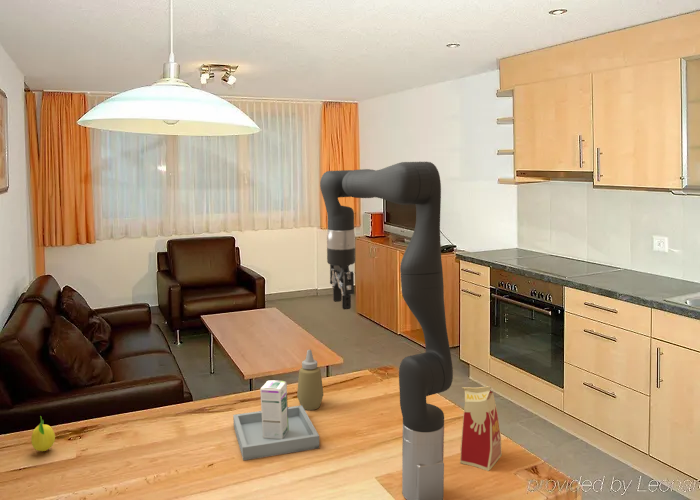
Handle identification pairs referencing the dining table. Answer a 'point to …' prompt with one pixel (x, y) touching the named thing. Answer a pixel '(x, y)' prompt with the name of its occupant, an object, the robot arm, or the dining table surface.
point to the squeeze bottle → (310, 384)
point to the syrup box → (274, 409)
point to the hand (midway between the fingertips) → (341, 305)
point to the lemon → (42, 437)
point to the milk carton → (480, 429)
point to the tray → (256, 446)
